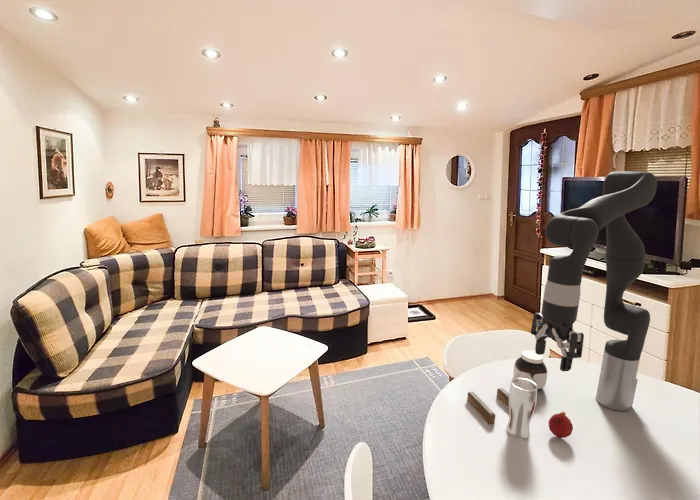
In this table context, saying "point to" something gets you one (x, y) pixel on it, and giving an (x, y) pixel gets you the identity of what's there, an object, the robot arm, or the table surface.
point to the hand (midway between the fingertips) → (551, 361)
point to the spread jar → (531, 368)
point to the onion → (560, 425)
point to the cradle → (483, 408)
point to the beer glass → (521, 407)
